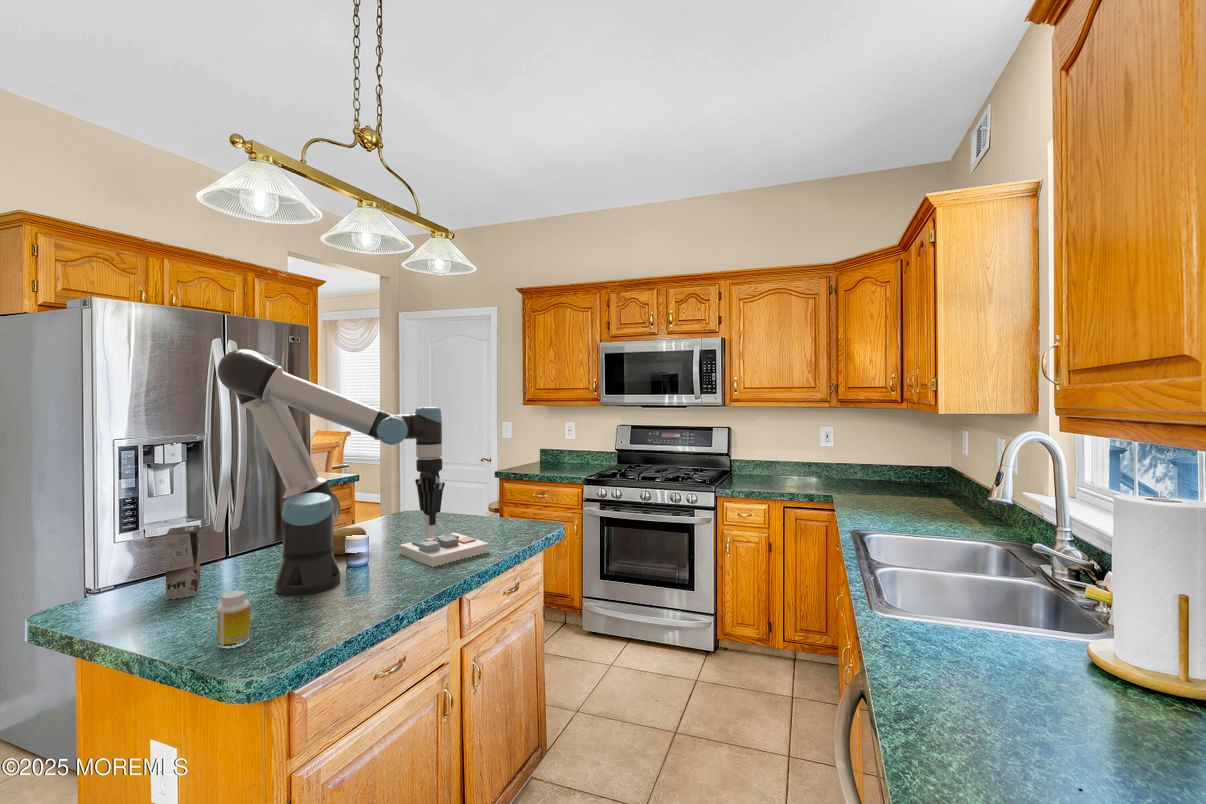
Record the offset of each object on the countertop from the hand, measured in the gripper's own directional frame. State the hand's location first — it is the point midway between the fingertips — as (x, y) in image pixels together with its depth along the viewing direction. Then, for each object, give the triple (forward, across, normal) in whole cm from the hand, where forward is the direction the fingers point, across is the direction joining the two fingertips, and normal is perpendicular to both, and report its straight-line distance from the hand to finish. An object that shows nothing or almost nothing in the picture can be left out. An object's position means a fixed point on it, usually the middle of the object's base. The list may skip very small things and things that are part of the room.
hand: (430, 535), depth 167 cm
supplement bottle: (+7, -21, +57) cm, 61 cm away
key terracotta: (+7, 0, -13) cm, 14 cm away
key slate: (+5, 0, 0) cm, 5 cm away
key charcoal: (+6, 0, -6) cm, 8 cm away
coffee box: (+7, +21, +57) cm, 61 cm away
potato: (+7, +25, +16) cm, 31 cm away
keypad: (+8, +2, -6) cm, 10 cm away
